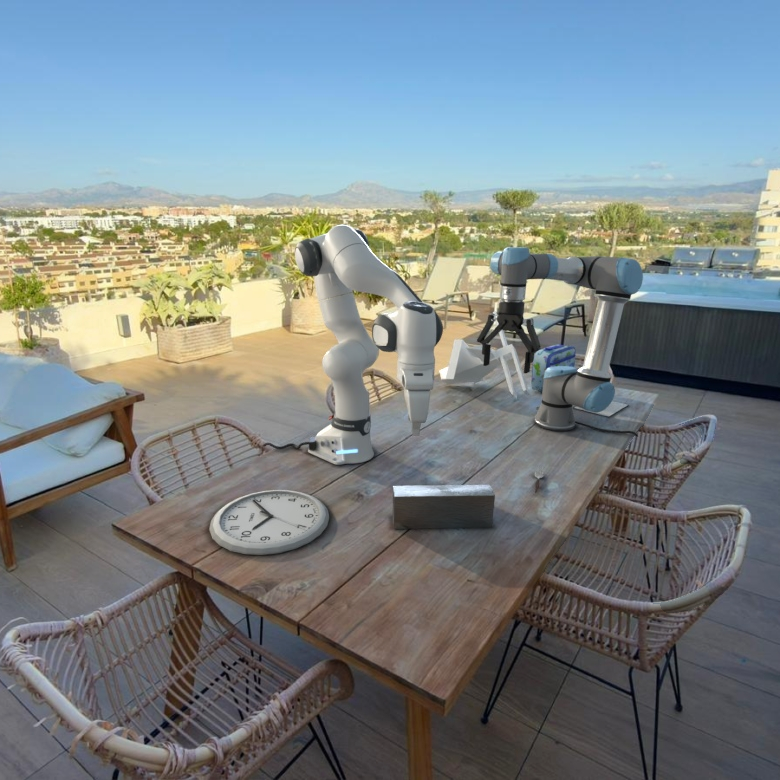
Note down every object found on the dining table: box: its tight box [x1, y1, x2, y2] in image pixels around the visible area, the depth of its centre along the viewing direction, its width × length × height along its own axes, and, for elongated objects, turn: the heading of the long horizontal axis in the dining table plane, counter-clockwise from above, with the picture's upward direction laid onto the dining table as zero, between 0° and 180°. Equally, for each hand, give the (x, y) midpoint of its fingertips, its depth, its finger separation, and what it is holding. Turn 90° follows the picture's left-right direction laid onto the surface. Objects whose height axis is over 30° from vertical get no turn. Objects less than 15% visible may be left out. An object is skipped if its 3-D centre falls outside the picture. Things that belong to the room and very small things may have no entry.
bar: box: [391, 484, 496, 530], centre depth 134 cm, size 25×6×9 cm, turn 93°
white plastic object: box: [438, 310, 531, 400], centre depth 245 cm, size 37×45×31 cm
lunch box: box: [530, 344, 577, 392], centre depth 247 cm, size 26×11×21 cm, turn 134°
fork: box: [534, 465, 545, 494], centre depth 157 cm, size 3×16×2 cm, turn 160°
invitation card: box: [573, 400, 629, 418], centre depth 226 cm, size 21×1×15 cm
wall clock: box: [209, 489, 330, 556], centre depth 135 cm, size 30×2×30 cm
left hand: (413, 427), depth 127 cm, fingers open, 8 cm apart
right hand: (506, 368), depth 163 cm, fingers open, 13 cm apart
